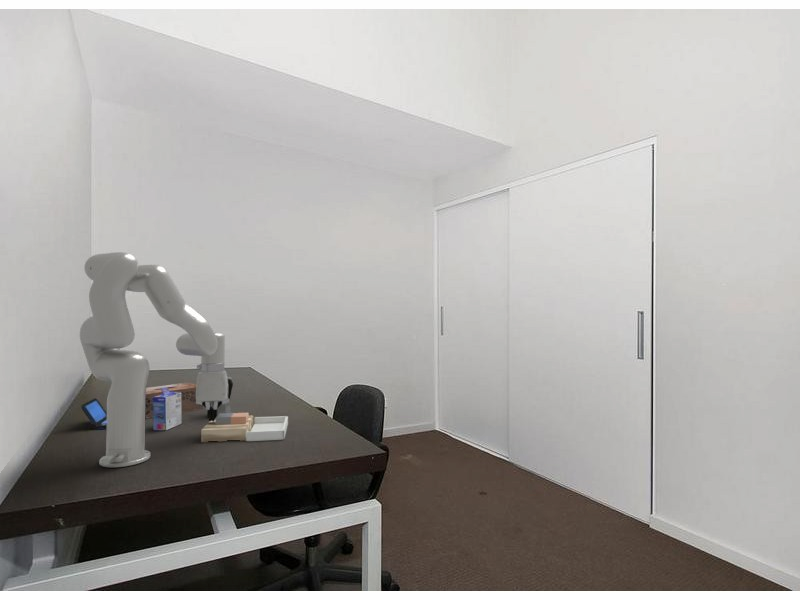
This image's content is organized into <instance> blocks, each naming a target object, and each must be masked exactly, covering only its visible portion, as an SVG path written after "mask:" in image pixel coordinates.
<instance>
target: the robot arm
mask: <svg viewBox="0 0 800 600" xmlns="http://www.w3.org/2000/svg"><path fill="white" fill-rule="evenodd" d="M83 267H84V272H85V275H86V276H87V277H88V278H89V279H90V280H91V281H92V282H91V283H92V284H91V286H90V289H89V292H88V293H89V294H88V299H89V305H90V311H91V314H92V316H90V317H88V318H86V319H85V320H84V321H83V323H82V324H81V325H80V326H81V327H80V330H79V339H80V340H79V341H80V343H81V346H82V350H83V353H84V355H85V359H86V361H87V365H88V367H89V370H90V373H92V375H93V376H94V378H96V379H97V380H99V381H102V382H107V383H108V382H109V383H111V386H110V388H109V390H108V393H107V399H106V413H107V429H106V432H105V433H106V441H105V444H106V445H105V448H106V449H105V455H103V456H101V458H100V459H99V460H98V461H99V464H98V465H99V466H101V467H104V468H123V467H129V466H133V465H137V464H140V463H141V464H142V463H143V462H146V461H148V460H149V459H150V458H151V452H150V451H149V450H146V449H145V447H146V446H145V442H146V441H145V440H146V439H145V438H146V437H145V433H146V419H145V394H146V388H147V383H148V380H149V374H150V363H149V359H148V358H147V357H146V356H145V355H144V354H143V353H140V352H138V351H134V350H126V349H123V348H126V347H128V346H130V345H131V344H132V343H133V342H134V340H135V337H136V336H135V335H136V334H135V327H134V326H133V325H134V324H133V322H132V318H131V315H130V312H129V308H128V305H127V299H126V292H127V291H129V292H134V293H145V295H146V296H147V297H148V299H149V301H150V302H151V304H152V306H153V307H154V309H155V311H156V312H157V314H158V315H159V317H161V318H162V319H163V320H165V321H167V322H169V323H171V324H173V325H175V326H177V327H179V328H181V329H182V330H184V331H185V332H186V333H184V334H181V335H180V336H179V337H178V338H177V339H176V342H175V347H176V350H177V351H178V352H179V353H180V354H183V355H186V356H193V357H194V356H195V357H201V358H200V362H201V363H200V364H197V365H196V369H197V370H200V371H199V372H198V374H197V378H196V404H199V405H203V408H205V409H206V411H207V414H206V416H207V417H206V419H208V422H209V421H215V419H216V417H217V408H218V407H219V406H220V405H221V404H225V403H228V402H229V401H230V399H228V379H227V377H228V373H227V371H226V370H225V355H226V354H225V352H226V351H225V347H226V346H225V345H226V344H225V343H226V342H225V340H226V338H225V335H224V333H223V332H214V330H213V328H212V326H211V325H210V323H209V322H208V321H207V320H206V319H205V318H204V316H202V315H201V314H200V313H198V312H197V311H196V310H195V309H194V308H193V307H191V306H190V305H189V304H188V303H187V302H186V301H185V299H184V297H183V296H182V294H181V292H180V291H179V288H178V287H177V285H176V283H175V282H174V280H173V279H172V277H171V275H170V274H169V272H168V271H167V269H166V268H164V267H163V266H161V265H160V264H159V265H158V264H141V265H140V264H139V262H138V259H137V258H136V257H135V256H134V255H133V254H131V253H129V252H123V251H122V252H121V251H120V252H119V251H117V252H105V253H98V254H97V253H96V254H94V255H92V256H90V257H89V258H88V259H87V260H85V263H84V266H83ZM211 401H214V407H213V408H212V406H211Z"/></svg>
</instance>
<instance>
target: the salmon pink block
mask: <svg viewBox="0 0 800 600" xmlns="http://www.w3.org/2000/svg"><path fill="white" fill-rule="evenodd" d="M233 413H234V414H233V415H232V416H231V424H246V423H247V421H248V419H249V416H250V415H249V412H233Z"/></svg>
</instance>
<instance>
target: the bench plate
mask: <svg viewBox="0 0 800 600" xmlns="http://www.w3.org/2000/svg"><path fill="white" fill-rule="evenodd" d="M253 425H254V415H249V419H248V421H247V423H246V424H227V425H216V419H215V421H209V420H208V422H207V424H205V425H204V427H203V428H201V430H200V431H201V432H200V433H201V434H200V443H209V442H208V441H218V442H228V441H227V440H240V441H246V432H249V431H251V429H252V427H253Z"/></svg>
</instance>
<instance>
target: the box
mask: <svg viewBox="0 0 800 600" xmlns="http://www.w3.org/2000/svg"><path fill="white" fill-rule="evenodd" d="M288 426H289V416H288V415H283V416H279V415H278V416H254V417H253V427H252V429H251V431H249V432H246V440H245V441H246V442H261V441H262V442H263V441H280V440H282V441H283V440H285V438H286V433H287V429H288Z"/></svg>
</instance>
